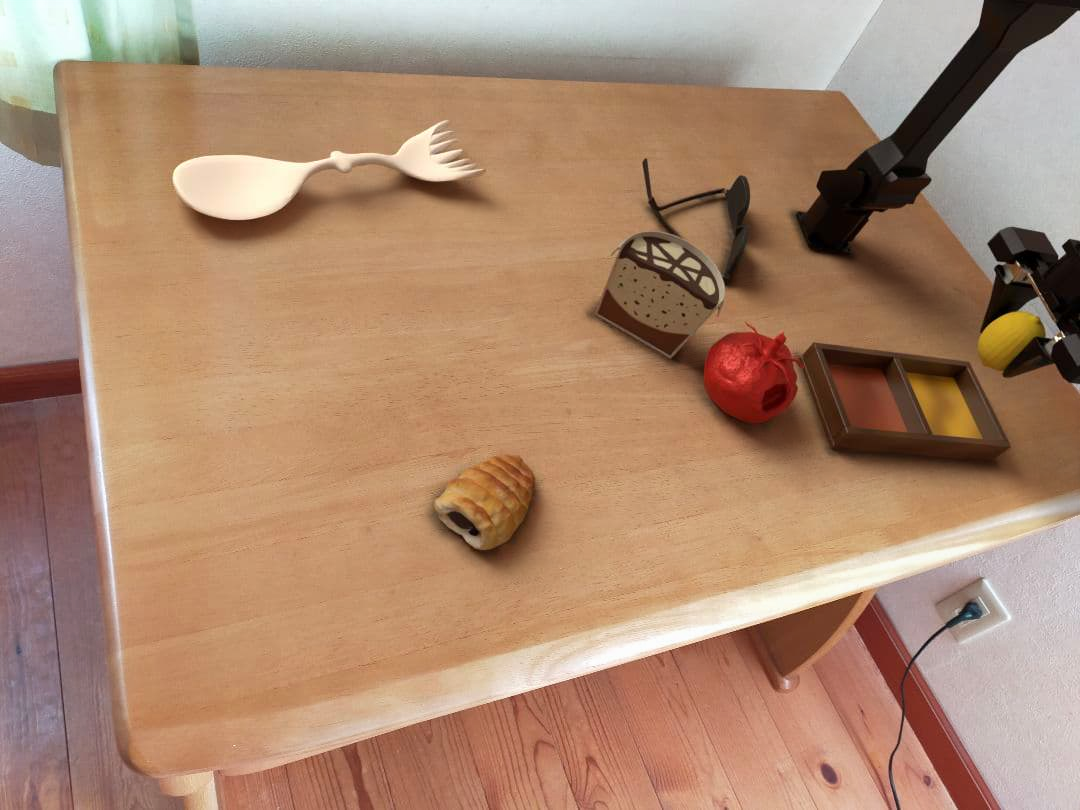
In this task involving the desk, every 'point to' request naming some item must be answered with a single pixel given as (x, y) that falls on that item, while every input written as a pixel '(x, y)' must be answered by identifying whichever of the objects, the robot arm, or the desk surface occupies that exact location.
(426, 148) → the spoon
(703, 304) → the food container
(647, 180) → the sunglasses
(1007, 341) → the lemon
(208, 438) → the desk surface
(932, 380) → the sorting tray
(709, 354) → the pomegranate
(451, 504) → the pastry
